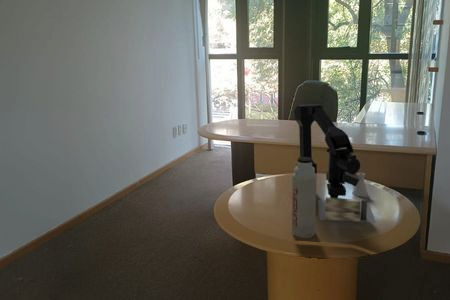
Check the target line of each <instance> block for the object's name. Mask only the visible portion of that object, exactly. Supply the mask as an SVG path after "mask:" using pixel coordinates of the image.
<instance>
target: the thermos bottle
mask: <svg viewBox="0 0 450 300" xmlns="http://www.w3.org/2000/svg"><path fill="white" fill-rule="evenodd" d="M312 160H313V157H312V158H309V157H300V156H299V157H297V162H296V163H297V164H296V166H295V167H294V170H293V171H294V172H293V173H292V175H293V177H292V184H291V185H292V186H291V187H292V189H291V190H292V195H291V198H292V199H291V200H292V203H291V205H292V206H291V207H292V209H291V234H292V235H293V236H295V237H297V238H303V239H307V238H312V237H314V236H315V235H316V210H317V209H316V206H317V202H316V201H317V177H318V176H317V174H315V168H314V167H312Z"/></svg>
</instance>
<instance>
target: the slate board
mask: <svg viewBox="0 0 450 300" xmlns="http://www.w3.org/2000/svg"><path fill="white" fill-rule="evenodd" d="M317 201H318V202H317V205H318V216H319V221H326V220H325V205H326V199H317ZM361 204H362V200H360V215H361ZM370 206H371V205H370V204H369V202H368V201H367V216H366V220H362V219H361V216H360V221H349V222H350V223H351V222H352V223H353V222H354V223H357V222H358V223H371V224H372V223H373V224H376V223H377V222H376V219H375V216H374V214H373V211H372V209H371V207H370ZM329 221H330V222H331V221H333V222H335V221H336V222H345V221H344V220H329Z"/></svg>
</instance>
